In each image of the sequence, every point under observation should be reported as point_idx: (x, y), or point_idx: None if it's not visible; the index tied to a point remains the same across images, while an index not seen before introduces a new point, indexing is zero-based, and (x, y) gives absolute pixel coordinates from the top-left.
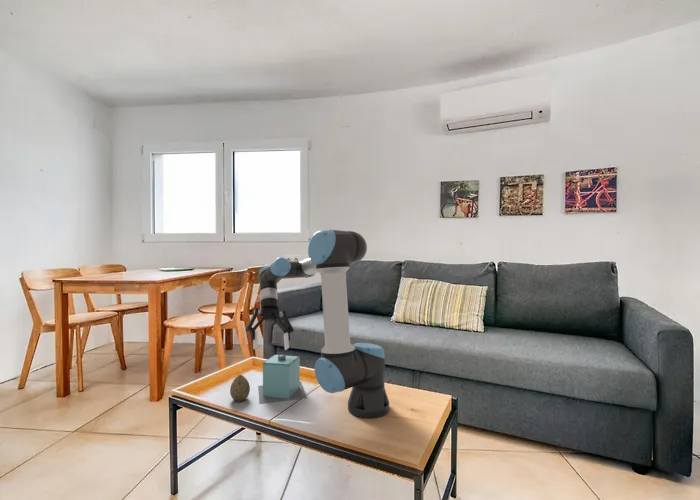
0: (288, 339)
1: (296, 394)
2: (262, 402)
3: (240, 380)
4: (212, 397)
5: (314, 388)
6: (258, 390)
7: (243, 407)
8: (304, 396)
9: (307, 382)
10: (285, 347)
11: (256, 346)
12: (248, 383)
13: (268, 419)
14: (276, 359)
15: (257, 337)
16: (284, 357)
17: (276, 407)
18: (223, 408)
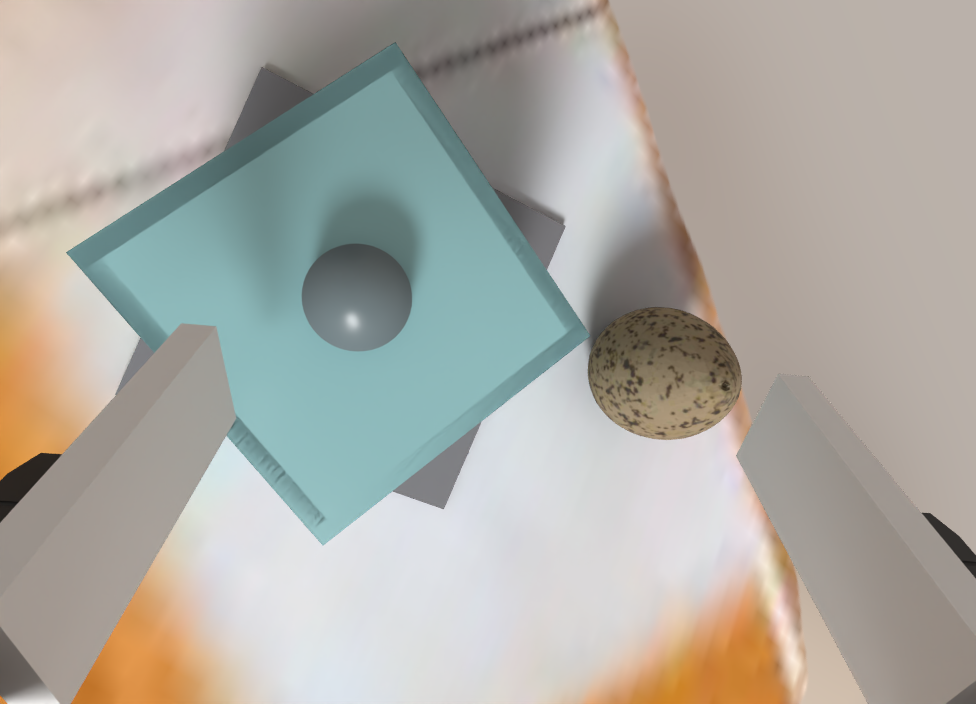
0: (83, 433)
1: None
2: (542, 232)
3: (718, 342)
4: (710, 512)
5: (90, 206)
6: (477, 429)
7: (640, 266)
8: (265, 108)
9: (65, 358)
10: (218, 408)
11: (802, 380)
12: (634, 345)
13: (603, 22)
14: (413, 342)
15: (873, 505)
16: (343, 246)
17: (497, 124)
18: (719, 329)
